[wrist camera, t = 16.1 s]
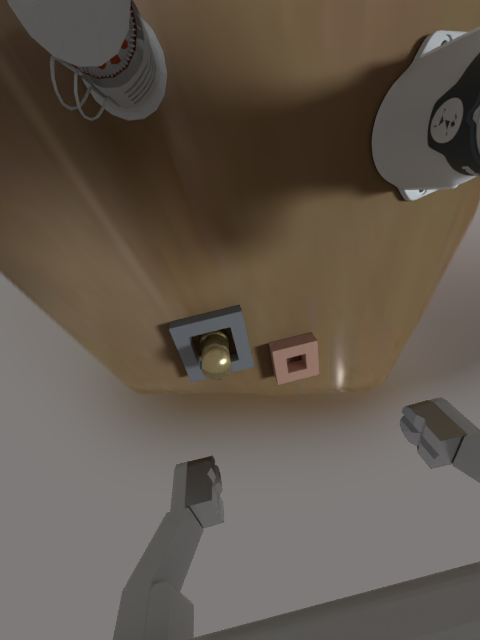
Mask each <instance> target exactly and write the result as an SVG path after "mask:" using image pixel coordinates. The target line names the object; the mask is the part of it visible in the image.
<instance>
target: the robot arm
mask: <svg viewBox="0 0 480 640" xmlns="http://www.w3.org/2000/svg"><path fill="white" fill-rule="evenodd" d="M441 43H442V45H441ZM372 154H373V159H374V163H375V166H376V168H377V170H378V172H379V173H380V175H381V176H382V177H383V178H384V179H385V180H386V181H388V182H389V183H391V184H393V185H395V186H396V187H397V188H398V189H399V191H400V193H401V195H402V197H403V198H404V199H405V200H406V201H413V200H416V199H419V198H421V197H423V196H425V195H428V194H430V193H432V192H434V191H436V190H439V189H453V188H456V187H457V186H458V185H459V184H461V183H464V182H466V181H468V180H470V179H472V178H474V177H476V176H480V26H479V27H477V28H475V29H473V30H471V31H469V32H458V31H444V30H439V31H436V32H434V33H432V34H430V35H429V36H427V38H426V39H425V40H424V42H423V43H422V45H421V47H420V48H419V50H418V52H417V54H416V56H415V58H414V60H413V62H412V64H411V65H410V66H409V67H408V69H407V70H406V71H405V72H404V73H403V74H402V75H401V76H400V77H399V78H398V79H397V81H396V82H395V83H394V84H393V86H392V87H391V88H390V90H389V91H388V93H387V94H386V96H385V98H384V100H383V102H382V104H381V106H380V108H379V111H378V113H377V116H376V119H375V123H374V127H373V133H372ZM419 190H420V191H419ZM402 413H403V414H404V416H403V417H402V418H401V420H400V426H401V430H402V432H403V434H404V436H405V437H406V438H407V440H408V441H409V442H410V443H412V444H414V445H416V446H417V450H418V454H419V455H420V456H421V457H422V459H423V460H424V461H425V462H426V463H427V465H428V466H429V467H430V468H431V469H432V468H436V467H440V466H445V465H450V464H453V466H454V467H456V468H457V469H459V470H461V471H462V472H464V473H465V474H467V475H468V476H470V477H472V478H473V479H475V480H476V481H478V482H479V483H480V430H479V429H478V428H477V427H476V426H475V425H474V424H473V423H471V422H470V421H469V420H468V419H467V418H466V417H464V415H462V414H461V413H460V412H459V411H458V410H457V409H455V407H453V406H452V405H451V404H450V403H449V402H448V401H447V400H445V399H443V398H435V399H431V400H426V401H423V402H419V403H416V404H412V405H409V406H405V407H404V408H403V410H402ZM221 492H222V482H221V475H220V471H219V468H218V466H217V465H215V459H214V457H213V456H209V457H205V458H201V459H197V460H193V461H188V462H184V463H180V464H177V465H176V467H175V470H174V479H173V490H172V500H171V510H170V512H168V513H166V515H165V517H164V518H163V520H162V522H161V524H160V526H159V527H158V529H157V531H156V532H155V534H154V536H153V538H152V540H151V541H150V543H149V545H148V547H147V548H146V550H145V552H144V554H143V556H142V557H141V559H140V561H139V563H138V564H137V566H136V568H135V570H134V571H133V573H132V575H131V577H130V578H129V580H128V582H127V584H126V586H125V587H124V589H123V591H122V596H121V601H120V606H119V611H118V616H117V621H116V626H115V631H114V636H113V640H480V562H477V563H473V564H469V565H465V566H461V567H458V568H454V569H450V570H446V571H443V572H439V573H435V574H431V575H428V576H424V577H420V578H416V579H413V580H409V581H405V582H401V583H397V584H394V585H390V586H387V587H382V588H379V589H375V590H371V591H367V592H364V593H360V594H356V595H352V596H349V597H345V598H342V599H337V600H334V601H330V602H326V603H322V604H319V605H315V606H311V607H308V608H304V609H300V610H296V611H292V612H289V613H285V614H281V615H277V616H274V617H270V618H267V619H262V620H259V621H255V622H252V623H247V624H244V625H240V626H237V627H232V628H229V629H225V630H221V631H218V632H214V633H210V634H206V635H202V636H199V637H195V638H193V631H194V630H193V629H194V605H193V604H192V603H191V601H190V600H188V599H187V598H186V597H185V596H184V595H183V594H182V593H180V590H181V588H182V585H183V582H184V580H185V577H186V575H187V572H188V569H189V567H190V564H191V561H192V559H193V556H194V554H195V551H196V548H197V546H198V543H199V541H200V538H201V535H202V533H203V528H206V527H210V526H213V525H217V524H220V523H223V522H224V510H223V501H222V499H221V498H220V494H221Z"/></svg>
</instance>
